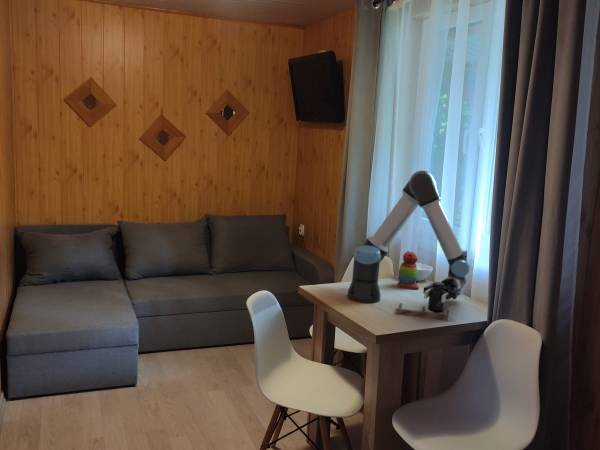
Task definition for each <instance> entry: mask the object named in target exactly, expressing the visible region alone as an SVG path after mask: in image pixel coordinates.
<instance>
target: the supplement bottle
mask: <svg viewBox="0 0 600 450" xmlns="http://www.w3.org/2000/svg"><path fill="white" fill-rule="evenodd" d="M441 282H442V281H434V282H432V284H433V286H432V287H433V288H432V289H430V293H429V297H428V302H427V303H428V305H427V309H428V310H427V311H431V312H436V313H444V312H445V306H446V305H445V304H446V301H444V302H441V301H442V295H444V294H445V293H446V291H445V290H444V285H445V284H444V283H441Z"/></svg>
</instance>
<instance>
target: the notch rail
mask: <svg viewBox="0 0 600 450" xmlns="http://www.w3.org/2000/svg"><path fill="white" fill-rule="evenodd" d="M396 313H397V315H398V314H399V315H405V316H413V317H419V318H427V319H435V320H439V321H440V320H442V321H449V314H450V309H446V311H445V312H441V313H436V312H432V311H429V310H426V306H424V305H423V306H422V308H421V310H416V309H407V308H403V303H402V302H400V303H398V307H397V312H396Z"/></svg>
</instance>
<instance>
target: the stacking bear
mask: <svg viewBox="0 0 600 450" xmlns="http://www.w3.org/2000/svg"><path fill="white" fill-rule="evenodd" d="M402 258H403V262H402V263H401V264H400V266H399V269H398V276H397V277H398V282H397V286H398V287H399V288H402V289H408V290H414V291H415V290H419V289H420V287H419V285H417V282H416V279H417V267H416V264H415V263H418V260H419V257H417V255H416V253H415V252H413V251H410V250H407V251H406V252H404V254H403V255H402Z"/></svg>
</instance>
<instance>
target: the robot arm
mask: <svg viewBox="0 0 600 450" xmlns="http://www.w3.org/2000/svg"><path fill="white" fill-rule="evenodd" d="M401 191H402V196H401V197H400V198H399V200H398V201H397V202H396V204H395V205H394V206H393V208H392V210H390V212H389V214H388V215H387V216H386V218H385V219H384V220H383V222H382V223H381V225H379V227H378V229H377V230H376V231H375V233H374V234H373V235H372V236H368V237H367V238H366V240H365V241H364V243H363V244H362V245H360V246H359V245H358V246H356V248H355V249H354V253H353V266H352V278H351V279H352V280H351V282H350V284H349V287H348V289H347V293H346V297H347V299H348V300H350V301H353V302H356V303H357V302H358V303H364V304H365V303H366V304H368V303H369V304H372V303H378V302H380V300H381V291H380V288H379V274H380V273H379V272H380V265H381V262H383V260H384V258H385V257H386V256H387V254H388V253H389V246H390V245H391V243H392V242H393V241H394V239H395V238H396V237H397V235H398V234H399V232H400V231H401V229H402V228H403V227H404V226H405V224H406V223H407V221H408V220H409V219H410V217H411V216H412V215H413V213H414V212H415V211H416V209H417V208H418V207H420V208H421V209H423V211H424V213H425V215H426V217H427V219H428V221H429V224H430V226H431V228H432V230H433V233H434V235H435V237H436V240H437V241H438V243H439V246H440V248H441V250H442V252H443V254H444V256H445V258H446V260H447V263H448V272H447V277H446V278H445V279H443V280H442V281H440V282H441V283H444V284H445V285H444V290H445V291H446V293H445V294H444V295H442V301H441V302H444V301H445V302H446V301H447V300H451V299H452V300H456V299H457V298H458V297H459V296H461V293H462V289H463V288H464V287H465V285H466V284H467V278H466V276H468V273H469V271H470V265H469V263H468V261H467V260H468V250H466V249H464V248H461V246H460V244H459V241H458V239H457V237H456V234H455V233H454V231H453V228H452V226H451V224H450V221H449V219H448V216H447V215H446V213H445V211H444V209H443V207H442V204H441V196H440V194H439V191H438V187H437V181H436V178H435V176H434V175H433V174H432V173H431V172H429V171H427V170H418V171H416V172H414V173H413V174H412V175H411V176H410V178H409V180H408V181H407V183H406V184H405V186H404V187H403V189H402V190H401ZM432 286H433V283H430V284H428V285H426V286H424V287H423V290H422V291H423V294H424V297H423V299H429V293H430V289H432V288H433V287H432Z"/></svg>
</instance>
